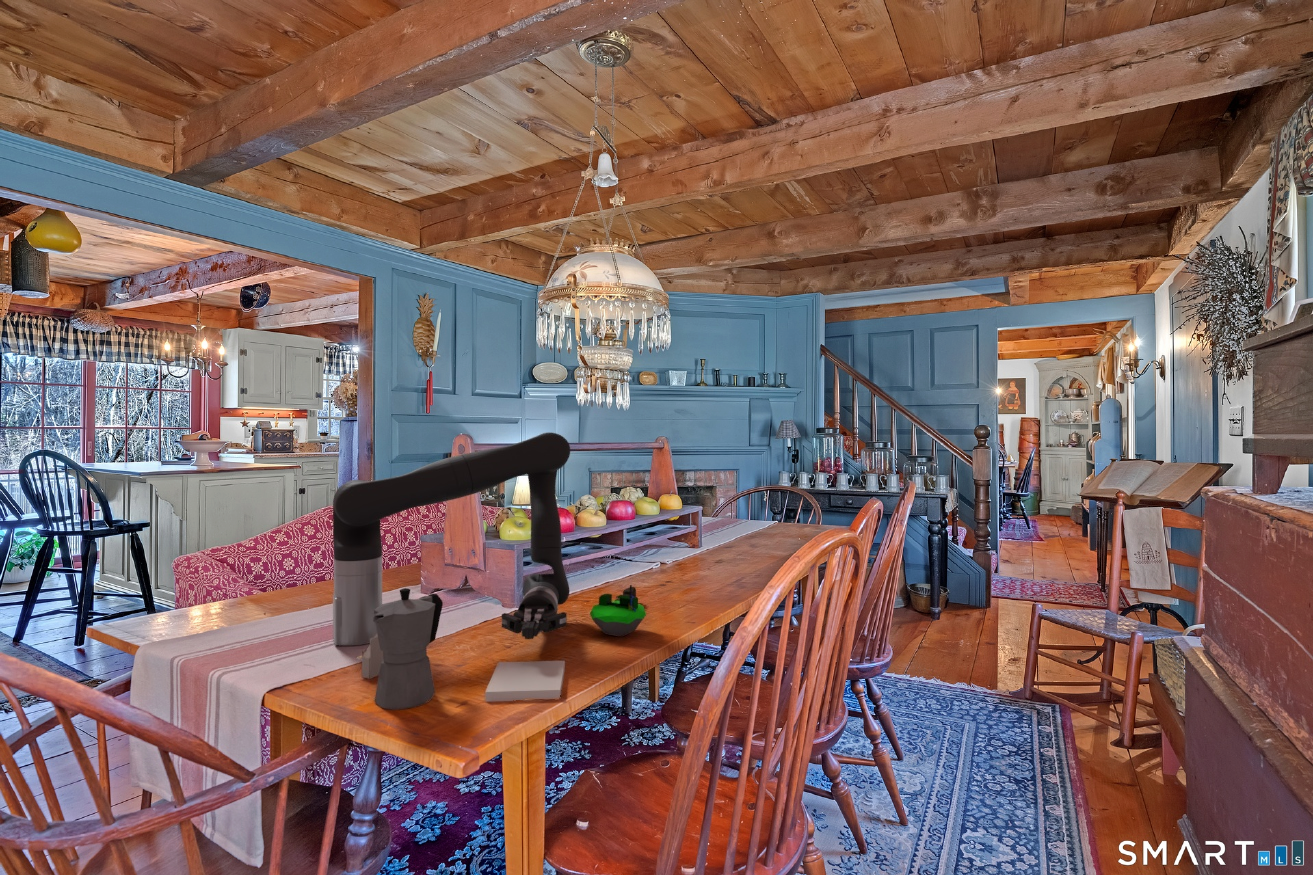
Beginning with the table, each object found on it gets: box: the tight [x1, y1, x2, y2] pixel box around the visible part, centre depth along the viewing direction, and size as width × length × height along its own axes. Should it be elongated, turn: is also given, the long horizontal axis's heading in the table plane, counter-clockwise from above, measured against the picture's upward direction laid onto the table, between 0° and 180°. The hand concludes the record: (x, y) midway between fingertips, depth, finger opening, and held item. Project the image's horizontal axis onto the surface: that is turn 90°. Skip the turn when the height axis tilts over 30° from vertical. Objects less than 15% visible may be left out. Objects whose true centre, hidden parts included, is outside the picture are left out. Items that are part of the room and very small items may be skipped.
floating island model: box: [589, 584, 647, 637], centre depth 145 cm, size 12×12×11 cm
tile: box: [484, 660, 566, 703], centre depth 116 cm, size 12×2×14 cm
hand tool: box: [614, 586, 637, 601], centre depth 163 cm, size 19×4×5 cm, turn 160°
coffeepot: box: [373, 587, 444, 711], centre depth 110 cm, size 15×9×18 cm, turn 159°
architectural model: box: [356, 634, 383, 679], centre depth 122 cm, size 3×7×7 cm, turn 156°
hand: (529, 633), depth 120 cm, fingers closed
